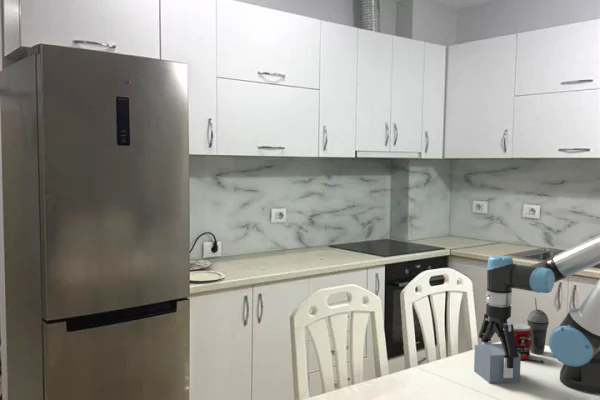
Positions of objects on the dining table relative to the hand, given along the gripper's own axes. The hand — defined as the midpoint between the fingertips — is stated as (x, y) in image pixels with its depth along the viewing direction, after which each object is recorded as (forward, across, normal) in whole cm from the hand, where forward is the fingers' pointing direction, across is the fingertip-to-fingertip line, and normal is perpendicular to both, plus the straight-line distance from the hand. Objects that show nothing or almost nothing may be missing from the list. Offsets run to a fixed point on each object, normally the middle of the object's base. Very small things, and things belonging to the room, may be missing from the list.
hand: (496, 369), depth 175 cm
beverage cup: (+2, -19, +26) cm, 32 cm away
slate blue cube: (+2, 0, 0) cm, 2 cm away
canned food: (+2, -16, +17) cm, 24 cm away
